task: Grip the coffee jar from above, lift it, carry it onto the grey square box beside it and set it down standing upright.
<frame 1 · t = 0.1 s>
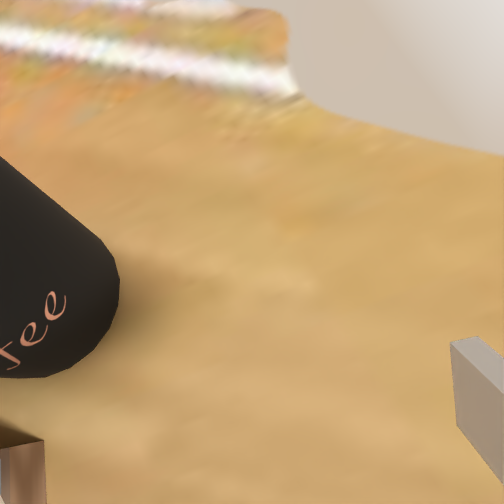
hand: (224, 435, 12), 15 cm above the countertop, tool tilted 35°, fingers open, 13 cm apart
coffee jar: (53, 300, 30), on the countertop
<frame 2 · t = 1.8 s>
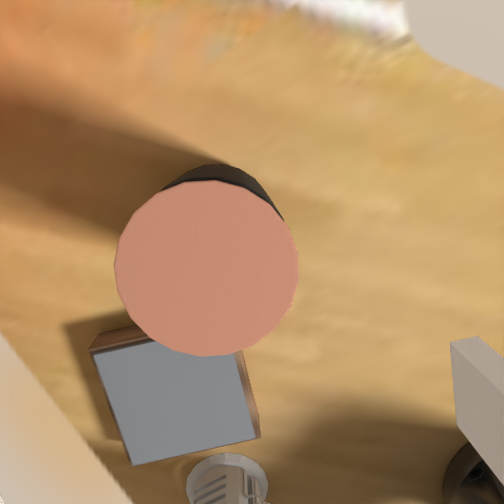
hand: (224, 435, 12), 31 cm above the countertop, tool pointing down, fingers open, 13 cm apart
glass coffee plunger: (232, 481, 50), on the countertop
coffee jar: (218, 218, 42), on the countertop
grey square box: (182, 376, 46), on the countertop
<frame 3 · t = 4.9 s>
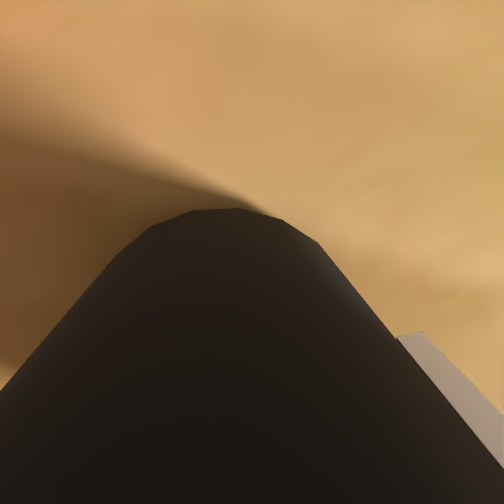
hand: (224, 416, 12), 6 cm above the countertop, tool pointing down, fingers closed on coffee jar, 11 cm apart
coffee jar: (224, 323, 18), on the countertop, touching gripper
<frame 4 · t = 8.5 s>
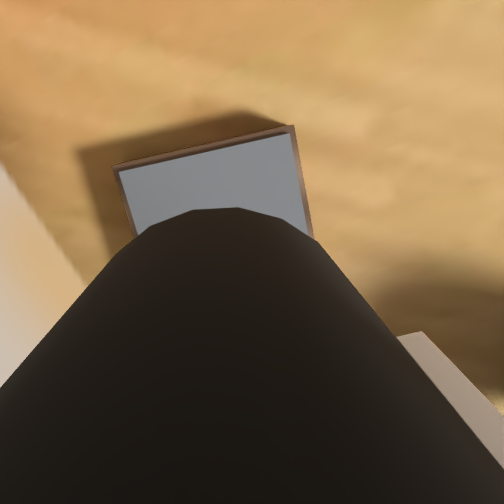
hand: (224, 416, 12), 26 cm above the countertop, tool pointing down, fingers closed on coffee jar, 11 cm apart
coffee jar: (224, 322, 18), point 19 cm above the countertop, touching gripper
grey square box: (224, 224, 37), on the countertop
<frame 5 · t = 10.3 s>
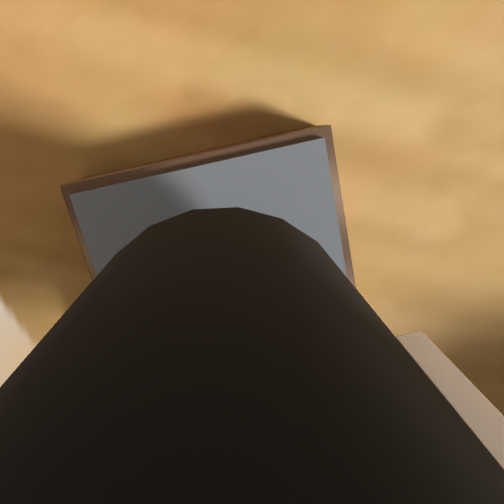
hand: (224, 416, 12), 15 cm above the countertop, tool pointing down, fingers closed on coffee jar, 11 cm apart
coffee jar: (224, 322, 18), point 9 cm above the countertop, touching gripper
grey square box: (226, 263, 27), on the countertop
when the fingers open (11 cm above the countertop, at t = 12.1 s): coffee jar drops 1 cm, resting on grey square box.
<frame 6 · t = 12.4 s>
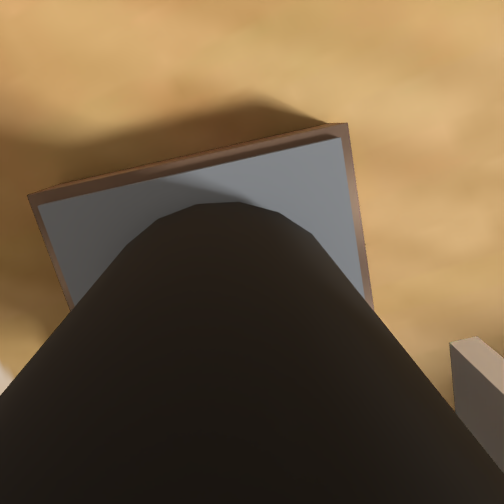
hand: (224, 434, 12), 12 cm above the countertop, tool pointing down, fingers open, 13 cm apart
coffee jar: (225, 309, 20), point 4 cm above the countertop, touching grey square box
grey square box: (224, 280, 23), on the countertop
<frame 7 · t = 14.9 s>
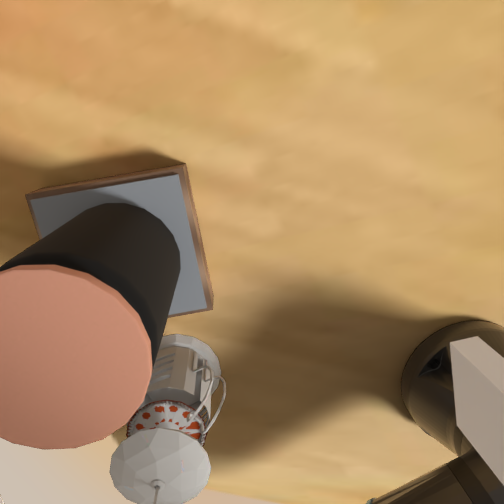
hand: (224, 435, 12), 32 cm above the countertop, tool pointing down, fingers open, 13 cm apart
glass coffee plunger: (183, 367, 47), on the countertop
coffee jar: (124, 256, 39), point 4 cm above the countertop, touching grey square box
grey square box: (131, 244, 42), on the countertop
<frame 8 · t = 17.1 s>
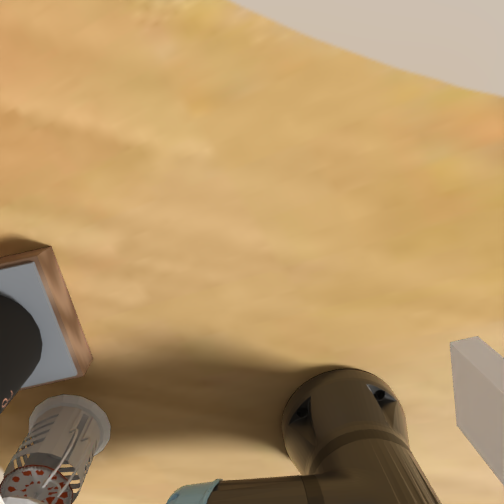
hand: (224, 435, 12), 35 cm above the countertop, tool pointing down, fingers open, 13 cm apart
glass coffee plunger: (75, 423, 51), on the countertop
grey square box: (12, 318, 47), on the countertop
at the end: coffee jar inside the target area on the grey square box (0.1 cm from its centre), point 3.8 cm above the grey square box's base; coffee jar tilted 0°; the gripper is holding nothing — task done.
